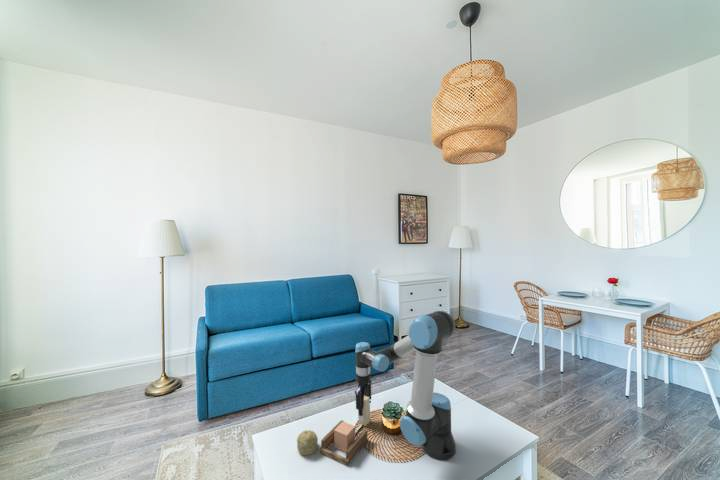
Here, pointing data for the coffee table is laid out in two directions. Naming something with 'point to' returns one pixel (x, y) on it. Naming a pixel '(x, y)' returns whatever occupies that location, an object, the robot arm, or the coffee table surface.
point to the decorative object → (307, 442)
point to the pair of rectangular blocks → (350, 429)
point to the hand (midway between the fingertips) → (364, 417)
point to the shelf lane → (350, 452)
